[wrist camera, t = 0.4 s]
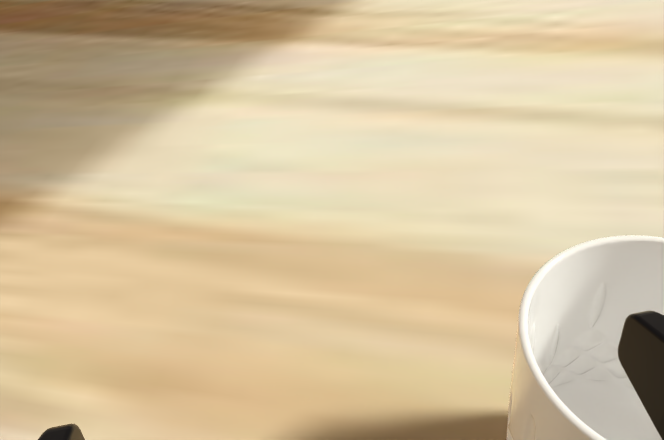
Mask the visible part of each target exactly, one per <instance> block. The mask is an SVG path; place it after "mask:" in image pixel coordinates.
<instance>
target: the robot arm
mask: <svg viewBox="0 0 664 440" xmlns="http://www.w3.org/2000/svg"><path fill="white" fill-rule="evenodd" d="M618 358H619V361H620V363H621V365H622V367H623V369H624V371H625V373H626V374H627V376H628V378H629V380H630V382H631V384H632V386H633V387H634V389H635V391H636V393H637V395H638V397H639V398H640V400H641V402H642V404H643V406H644V408H645V410H646V411H647V413H648V415H649V417H650V419H651V421H652V422H653V424H654V426H655V428H656V430H657V432H658V433H659V435H660V437H661V438H662V440H664V315H662V314H660V313H658V312H655V311H643V312H638V313H633V314H630V315H629V316H628V317H627V318H626V319H625V322H624V326H623V330H622V334H621V337H620V341H619V345H618ZM38 440H85V439H84V437H83V435H82V433H81V430H80V429H79V427H78V426H77V425H75V424H67V425H62V426H57V427H52V428H49V429H47V430H46V431H45V432H44V433H43V434H42V435H41V436H40V438H39V439H38Z"/></svg>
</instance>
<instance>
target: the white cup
mask: <svg viewBox="0 0 664 440" xmlns="http://www.w3.org/2000/svg"><path fill="white" fill-rule="evenodd" d="M643 311H655V312H658V313H660V314H662V315H664V238H663V237H655V236H642V235H625V236H612V237H605V238H599V239H594V240H590V241H587V242H583V243H580V244H578V245H575V246H573V247H570V248H568V249H566V250H564V251H562V252H560V253H559V254H557V255H556V256H554V257H553V258H551V259H550V260H549V261H547V262H546V263H545V264H544V265H543V266H542V267H541V268H540V269H539V270H538V271H537V272H536V274H535V275H534V276H533V278H532V279H531V281H530V282H529V284H528V286H527V288H526V290H525V292H524V294H523V297H522V300H521V304H520V309H519V317H518V327H517V336H516V345H515V354H514V362H513V371H512V379H511V387H510V396H509V407H508V425H507V440H662V438H661V437H660V435H659V433H658V432H657V430H656V428H655V426H654V424H653V422H652V421H651V419H650V417H649V415H648V413H647V411H646V410H645V408H644V406H643V404H642V402H641V400H640V398H639V397H638V395H637V393H636V391H635V389H634V387H633V386H632V384H631V382H630V380H629V378H628V376H627V374H626V373H625V371H624V369H623V367H622V365H621V363H620V361H619V358H618V345H619V341H620V337H621V334H622V330H623V326H624V322H625V319H626V318H627V317H628V316H629V315H630V314H633V313H638V312H643Z"/></svg>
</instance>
